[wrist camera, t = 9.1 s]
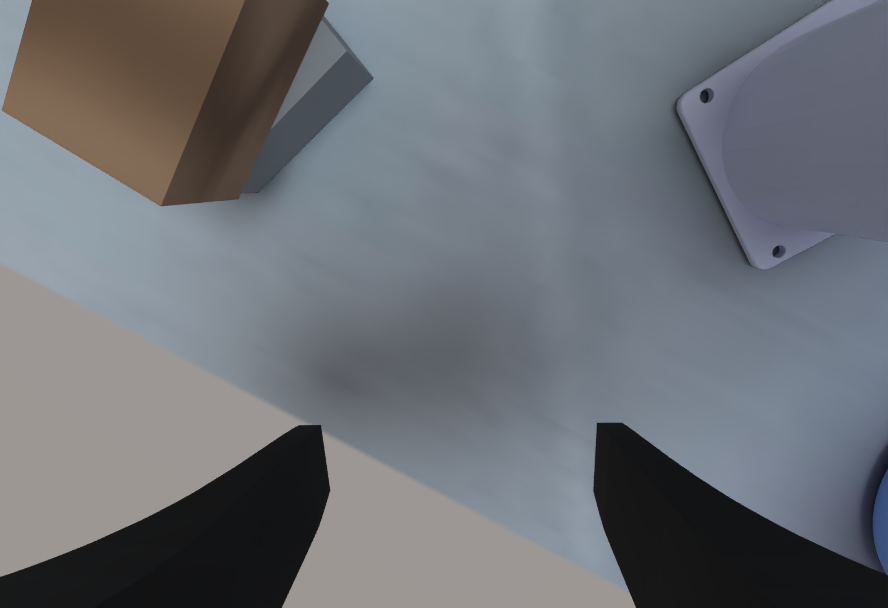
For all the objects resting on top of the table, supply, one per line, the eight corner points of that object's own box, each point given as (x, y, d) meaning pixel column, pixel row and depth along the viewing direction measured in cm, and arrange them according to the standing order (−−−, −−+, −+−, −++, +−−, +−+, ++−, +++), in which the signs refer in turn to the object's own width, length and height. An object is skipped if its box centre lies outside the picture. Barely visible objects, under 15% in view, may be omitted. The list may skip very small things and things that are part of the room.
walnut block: (198, -85, 13) (85, -194, 9) (329, 3, 14) (271, -65, 10) (122, 127, 15) (1, 110, 11) (238, 199, 15) (160, 206, 12)
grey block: (296, -19, 17) (245, -76, 13) (374, 78, 18) (346, 50, 14) (184, 108, 19) (108, 90, 15) (259, 192, 19) (206, 195, 15)
